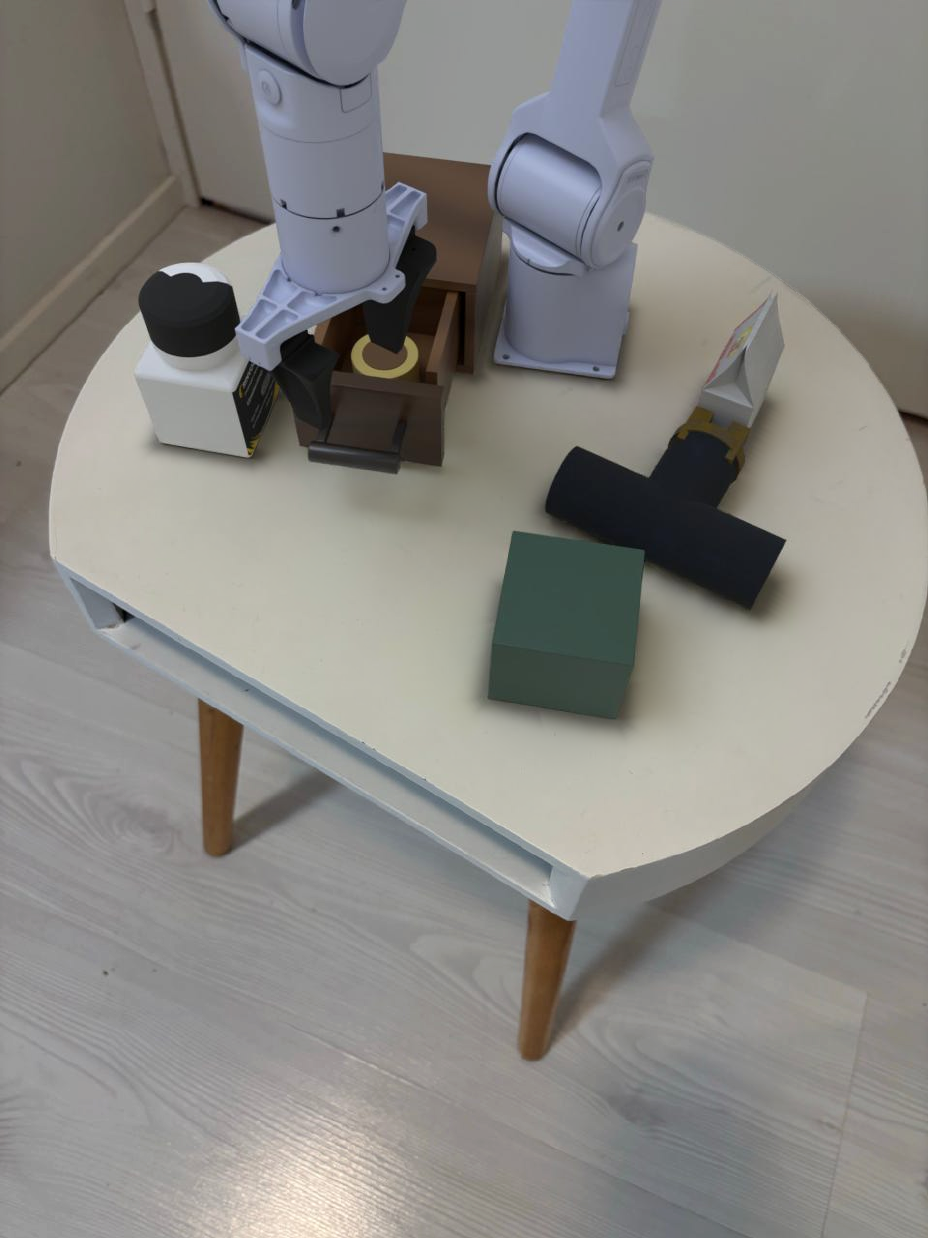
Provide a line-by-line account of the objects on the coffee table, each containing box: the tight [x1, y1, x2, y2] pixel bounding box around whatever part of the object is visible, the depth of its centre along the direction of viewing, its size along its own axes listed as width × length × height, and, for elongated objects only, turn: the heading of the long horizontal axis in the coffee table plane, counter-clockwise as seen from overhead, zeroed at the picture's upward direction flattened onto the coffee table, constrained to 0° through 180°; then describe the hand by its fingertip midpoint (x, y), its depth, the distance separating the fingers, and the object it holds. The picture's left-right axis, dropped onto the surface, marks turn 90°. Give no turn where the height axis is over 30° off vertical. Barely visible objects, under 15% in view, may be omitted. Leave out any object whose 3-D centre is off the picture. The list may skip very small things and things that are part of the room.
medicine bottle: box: [133, 262, 280, 458], centre depth 67 cm, size 7×7×12 cm
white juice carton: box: [696, 289, 786, 431], centre depth 68 cm, size 4×7×10 cm, turn 152°
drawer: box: [291, 286, 463, 475], centre depth 68 cm, size 17×10×7 cm, turn 170°
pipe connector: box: [544, 405, 788, 611], centre depth 65 cm, size 12×5×15 cm
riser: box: [487, 530, 645, 720], centre depth 59 cm, size 8×8×7 cm
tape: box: [351, 335, 420, 383], centre depth 70 cm, size 5×5×3 cm
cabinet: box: [383, 151, 504, 376], centre depth 75 cm, size 14×12×9 cm
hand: (350, 381), depth 60 cm, fingers open, 7 cm apart
